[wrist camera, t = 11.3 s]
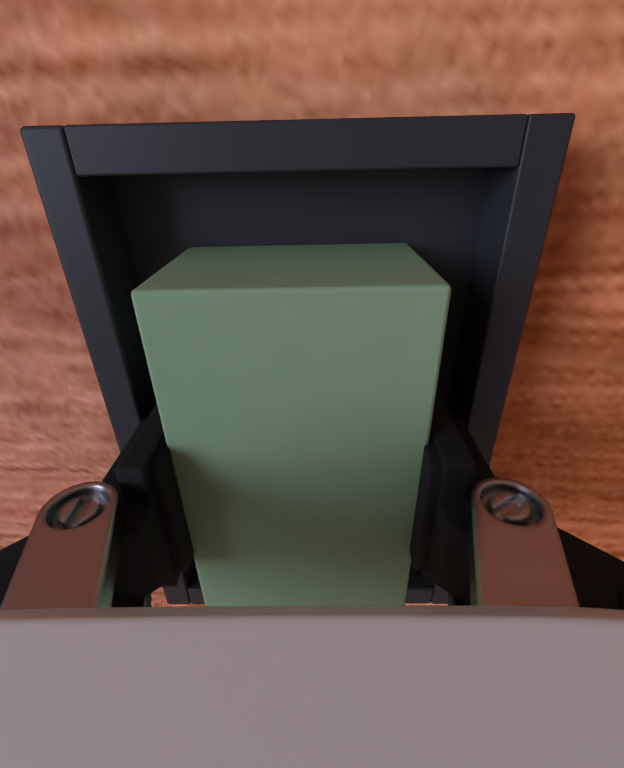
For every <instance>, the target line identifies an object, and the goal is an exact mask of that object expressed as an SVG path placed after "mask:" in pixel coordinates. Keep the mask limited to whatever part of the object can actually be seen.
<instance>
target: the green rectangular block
mask: <svg viewBox="0 0 624 768" xmlns="http://www.w3.org/2000/svg"><path fill="white" fill-rule="evenodd" d="M450 295H451V287H450V285H449V284H448V283H447V282H446V281H445V280H444V279H443V278H442V277H441V276H440V275H439V274H438V273H437V272H436V271H435V270H434V269H433V268H432V267H431V266H430V265H429V264H428V263H427V262H426V261H425V260H424V259H423V258H421V257H420V256H419V255H418V254H417V253H416V252H415V251H414V250H413V249H412V248H411V247H410V246H409V245H408V244H406V243H377V244H325V245H272V246H220V247H190V248H189V249H187V250H186V251H185V252H183V253H182V254H181V255H179V256H178V257H177V258H175V259H174V260H173V261H171V262H170V263H169V264H167V265H166V266H165V267H163V268H162V269H161V270H159V271H158V272H157V273H155V274H154V275H153V276H151V277H150V278H149V279H147V280H146V281H145V282H143V283H142V284H141V285H139V286H138V287H137V288H135V289H134V290H133V291H132V293H131V297H132V302H133V306H134V310H135V314H136V318H137V322H138V327H139V331H140V335H141V339H142V343H143V347H144V352H145V356H146V360H147V364H148V368H149V372H150V377H151V381H152V385H153V389H154V393H155V398H156V402H157V406H158V410H159V414H160V418H161V423H162V427H163V431H164V435H165V439H166V443H167V448H169V449H170V453H171V457H172V462H173V466H174V470H175V474H176V478H177V483H178V487H179V491H180V495H181V500H182V504H183V508H184V512H185V516H186V521H187V525H188V529H189V533H190V537H191V542H192V546H193V550H194V554H193V556H194V560H195V564H196V569H197V573H198V577H199V581H200V585H201V589H202V594H203V598H204V602H205V606H405V599H406V592H407V585H408V579H409V572H410V565H411V557H410V552H409V549H410V542H411V535H412V528H413V521H414V514H415V507H416V500H417V493H418V486H419V479H420V472H421V465H422V458H423V451H424V446H425V445H428V443H429V437H430V430H431V423H432V417H433V410H434V403H435V396H436V390H437V383H438V376H439V369H440V363H441V356H442V349H443V342H444V336H445V329H446V322H447V315H448V309H449V302H450Z"/></svg>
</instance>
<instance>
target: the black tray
mask: <svg viewBox="0 0 624 768" xmlns="http://www.w3.org/2000/svg"><path fill="white" fill-rule="evenodd" d="M574 120H575V114H573V113H553V114H529V115H526V114H511V115H469V116H427V117H385V118H343V119H301V120H259V121H217V122H175V123H133V124H91V125H66V126H61V125H55V126H24V127H22V128H21V129H20V133H21V136H22V139H23V142H24V145H25V149H26V152H27V155H28V158H29V161H30V165H31V168H32V171H33V174H34V177H35V181H36V184H37V187H38V190H39V193H40V197H41V200H42V203H43V206H44V209H45V213H46V216H47V219H48V222H49V225H50V229H51V232H52V235H53V238H54V241H55V245H56V248H57V251H58V254H59V257H60V260H61V264H62V267H63V270H64V273H65V276H66V280H67V283H68V286H69V289H70V292H71V296H72V299H73V302H74V305H75V308H76V312H77V315H78V318H79V321H80V324H81V328H82V331H83V334H84V337H85V340H86V344H87V347H88V350H89V353H90V356H91V360H92V363H93V366H94V369H95V372H96V376H97V379H98V382H99V385H100V388H101V392H102V395H103V398H104V401H105V404H106V408H107V411H108V414H109V417H110V420H111V424H112V427H113V430H114V433H115V436H116V440H117V443H118V446H119V449H120V452H122V450H123V449H124V447H125V445H126V444H127V442H128V441H129V439H130V438H131V436H132V435H133V433H134V432H135V430H136V428H137V427H138V425H139V424H140V422H141V421H142V420H143V419H147V418H148V416H149V414H150V413H151V411H152V410H153V408H154V407H155V405H156V403H157V402H156V398H155V393H154V389H153V385H152V381H151V377H150V372H149V368H148V364H147V360H146V356H145V352H144V347H143V343H142V339H141V335H140V331H139V327H138V322H137V318H136V314H135V310H134V306H133V302H132V297H131V293H132V291H133V290H134V289H135V288H137V287H138V286H139V285H141V284H142V283H143V282H145V281H146V280H147V279H149V278H150V277H151V276H153V275H154V274H155V273H157V272H158V271H159V270H161V269H162V268H163V267H165V266H166V265H167V264H169V263H170V262H171V261H173V260H174V259H175V258H177V257H178V256H179V255H181V254H182V253H183V252H185V251H186V250H187V249H189V248H190V247H220V246H272V245H325V244H377V243H406V244H408V245H409V246H410V247H411V248H412V249H413V250H414V251H415V252H416V253H417V254H418V255H419V256H420V257H421V258H423V259H424V260H425V261H426V262H427V263H428V264H429V265H430V266H431V267H432V268H433V269H434V270H435V271H436V272H437V273H438V274H439V275H440V276H441V277H442V278H443V279H444V280H445V281H446V282H447V283H448V284H449V285H450V287H451V295H450V302H449V309H448V315H447V322H446V329H445V336H444V342H443V349H442V356H441V363H440V369H439V376H438V383H437V391H438V393H439V394H440V396H441V398H442V400H443V402H444V404H445V406H446V408H447V410H448V412H449V414H450V415H460V416H461V417H462V419H463V420H464V422H465V424H466V426H467V428H468V429H469V431H470V433H471V435H472V437H473V439H474V440H475V442H476V444H477V446H478V448H479V449H480V451H481V453H482V455H483V457H484V458H485V460H486V462H487V464H488V466H489V465H490V461H491V457H492V452H493V448H494V444H495V440H496V436H497V432H498V428H499V424H500V420H501V416H502V412H503V408H504V404H505V400H506V396H507V392H508V388H509V384H510V379H511V375H512V371H513V367H514V363H515V359H516V355H517V351H518V347H519V343H520V339H521V335H522V331H523V327H524V323H525V319H526V315H527V311H528V306H529V302H530V298H531V294H532V290H533V286H534V282H535V278H536V274H537V270H538V266H539V262H540V258H541V254H542V250H543V246H544V242H545V238H546V234H547V229H548V225H549V221H550V217H551V213H552V209H553V205H554V201H555V197H556V193H557V189H558V185H559V181H560V177H561V173H562V169H563V165H564V161H565V156H566V152H567V148H568V144H569V140H570V136H571V132H572V128H573V124H574ZM163 590H164V593H165V596H166V600H167V603H168V604H190V603H192V604H205V602H204V598H203V594H202V589H201V585H200V581H199V577H198V573H197V569H196V564H195V560H194V556H193V558H192V561H191V564H190V567H189V569H188V571H181V574H180V577H179V580H178V583H177V586H176V587H163ZM448 596H449V593H447V592H446V591H445V590H443V589H442V588H441V587H439V586H438V585H425V582H424V578H423V574H422V570H415V569H414V568H413V565H412V561H411V565H410V572H409V579H408V585H407V592H406V599H405V603H431V602H432V603H433V604H448Z"/></svg>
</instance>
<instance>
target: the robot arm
mask: <svg viewBox="0 0 624 768" xmlns="http://www.w3.org/2000/svg"><path fill="white" fill-rule="evenodd" d="M409 552H410V557H411V561H412V565H413V568H414V569H415V570H422V574H423V578H424V582H425V585H438V586H439V587H441V588H442V589H443V590H445V591H446V592H447V593H449V596H448V606H191V607H151V600H152V599H151V593H152V592H153V591H155V590H156V589H158V588H159V587H176V586H177V583H178V580H179V577H180V574H181V571H188V569H189V567H190V564H191V561H192V558H193V554H194V550H193V546H192V542H191V537H190V533H189V529H188V525H187V521H186V516H185V512H184V508H183V504H182V500H181V495H180V491H179V487H178V483H177V478H176V474H175V470H174V466H173V462H172V457H171V453H170V449H169V448H167V443H166V439H165V435H164V431H163V427H162V423H161V418H160V414H159V410H158V406H157V403H156V405H155V407H154V408H153V410H152V411H151V413H150V414H149V416H148V418H147V419H143V420H142V421H141V422H140V424H139V425H138V427H137V428H136V430H135V432H134V433H133V435H132V436H131V438H130V439H129V441H128V442H127V444H126V445H125V447H124V449H123V450H122V452H121V453H120V455H119V456H118V458H117V459H116V461H115V462H114V464H113V465H112V467H111V469H110V470H109V472H108V473H107V475H106V476H105V478H104V479H103V481H102V482H98V481H95V482H85V483H81V484H78V485H74V486H72V487H69V488H67V489H65V490H63V491H61V492H59V493H58V494H56V495H55V496H53V497H52V498H51V499H50V500H49V501H48V502H46V503H45V504H44V505H43V507H42V508H41V510H40V511H39V513H38V515H37V517H36V520H35V522H34V525H33V527H32V530H31V532H30V534H29V536H27V537H25V538H23V539H21V540H19V541H17V542H15V543H14V544H12V545H10V546H8V547H6V548H4V549H2V550H0V768H624V562H623V561H621V560H619V559H617V558H615V557H614V556H612V555H610V554H608V553H606V552H604V551H602V550H600V549H598V548H596V547H594V546H592V545H590V544H588V543H586V542H584V541H583V540H581V539H579V538H577V537H575V536H573V535H571V534H569V533H567V532H565V531H563V530H561V529H559V528H557V525H556V521H555V518H554V514H553V511H552V509H551V507H550V505H549V503H548V501H547V500H546V499H545V498H544V497H543V496H542V495H541V494H540V493H539V492H538V491H536V490H535V489H533V488H532V487H530V486H528V485H526V484H524V483H522V482H519V481H516V480H512V479H508V478H498V477H495V476H494V475H493V473H492V471H491V469H490V467H489V466H488V464H487V462H486V460H485V458H484V457H483V455H482V453H481V451H480V449H479V448H478V446H477V444H476V442H475V440H474V439H473V437H472V435H471V433H470V431H469V429H468V428H467V426H466V424H465V422H464V420H463V419H462V417H461V416H460V415H450V414H449V412H448V410H447V408H446V406H445V404H444V402H443V400H442V398H441V396H440V394H439V393H438V391H437V390H436V396H435V403H434V410H433V417H432V423H431V430H430V437H429V443H428V445H425V446H424V451H423V458H422V465H421V472H420V479H419V486H418V493H417V500H416V507H415V514H414V521H413V528H412V535H411V542H410V549H409Z"/></svg>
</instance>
